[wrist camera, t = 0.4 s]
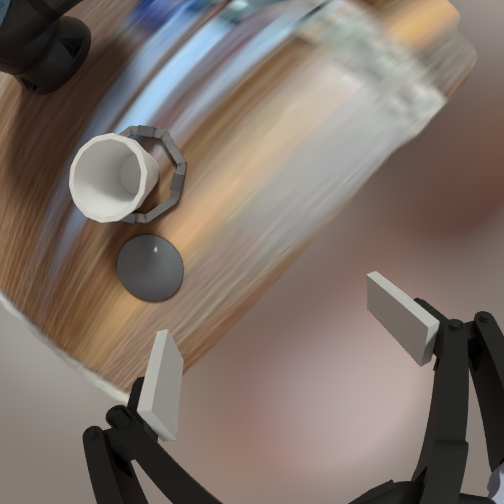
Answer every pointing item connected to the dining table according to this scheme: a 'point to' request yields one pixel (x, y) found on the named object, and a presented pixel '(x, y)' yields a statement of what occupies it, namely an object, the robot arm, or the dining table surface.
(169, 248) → the coaster
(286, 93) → the dining table surface
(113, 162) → the foam cup
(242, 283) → the dining table surface
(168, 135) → the collar
